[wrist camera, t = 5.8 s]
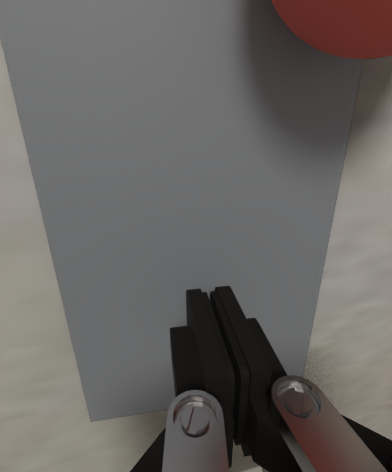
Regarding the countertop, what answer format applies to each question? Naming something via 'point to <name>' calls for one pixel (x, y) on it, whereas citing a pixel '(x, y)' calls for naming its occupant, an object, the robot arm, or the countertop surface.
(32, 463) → the countertop surface
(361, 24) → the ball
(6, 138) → the countertop surface
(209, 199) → the plate
